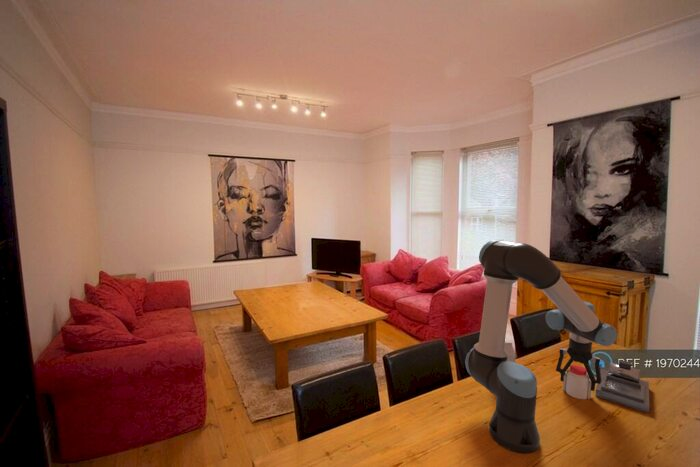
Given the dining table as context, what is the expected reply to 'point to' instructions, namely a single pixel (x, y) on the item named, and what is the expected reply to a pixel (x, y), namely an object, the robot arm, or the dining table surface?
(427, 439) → the dining table surface
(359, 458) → the dining table surface
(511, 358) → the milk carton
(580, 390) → the pill bottle
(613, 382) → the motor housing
